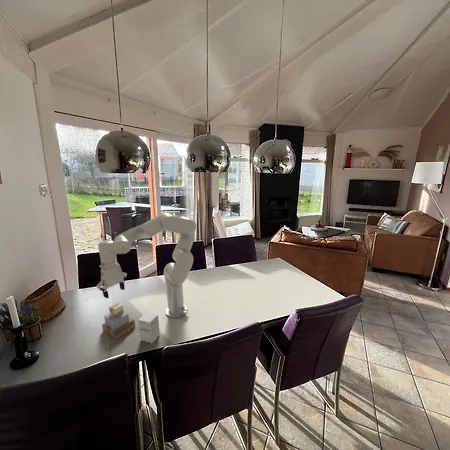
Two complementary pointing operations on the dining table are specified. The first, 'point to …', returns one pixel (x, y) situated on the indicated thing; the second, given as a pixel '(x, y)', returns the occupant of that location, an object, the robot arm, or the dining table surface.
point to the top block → (116, 320)
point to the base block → (118, 329)
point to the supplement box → (149, 327)
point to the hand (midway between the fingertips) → (114, 293)
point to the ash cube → (116, 309)
